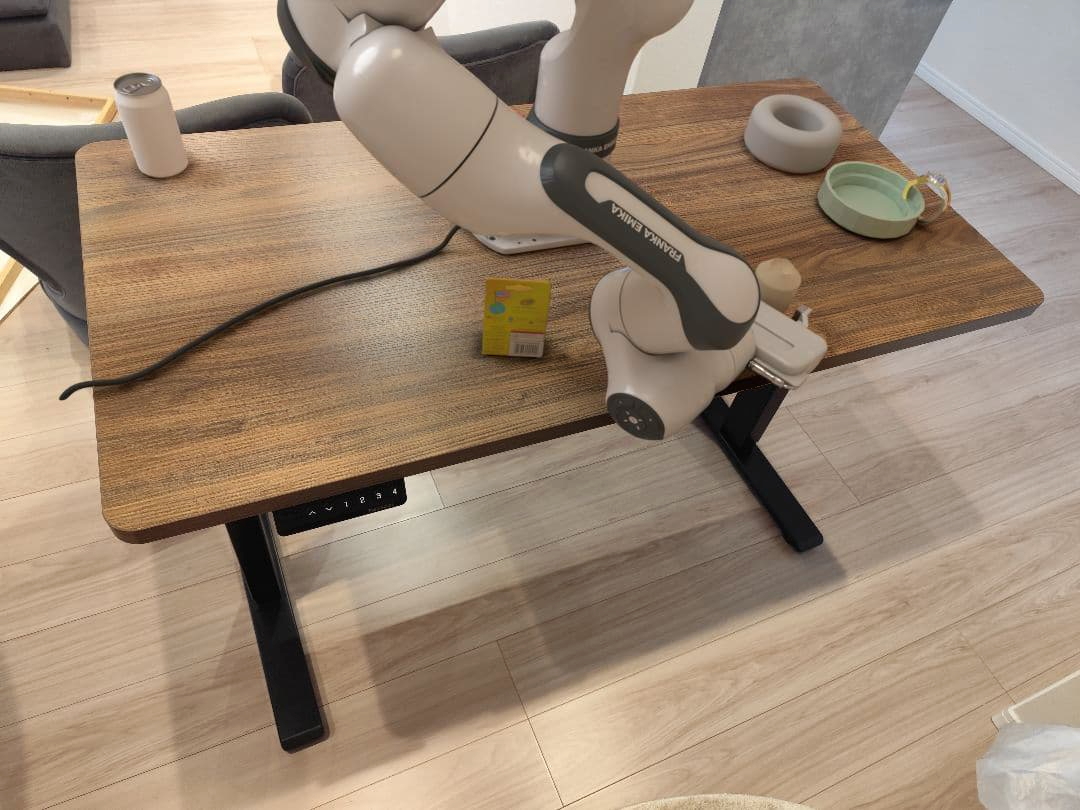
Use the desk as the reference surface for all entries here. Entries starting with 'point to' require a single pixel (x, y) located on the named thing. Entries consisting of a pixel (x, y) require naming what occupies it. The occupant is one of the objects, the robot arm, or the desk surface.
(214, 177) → the desk surface
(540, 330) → the crayon box
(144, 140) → the can
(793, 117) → the donut shape
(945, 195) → the ring
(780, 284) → the candle
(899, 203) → the bowl
